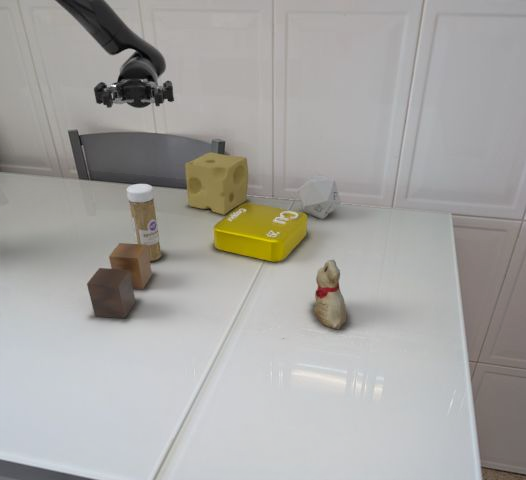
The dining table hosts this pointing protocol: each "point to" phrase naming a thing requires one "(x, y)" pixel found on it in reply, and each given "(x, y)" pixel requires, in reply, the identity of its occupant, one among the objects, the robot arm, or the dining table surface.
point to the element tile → (260, 231)
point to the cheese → (217, 182)
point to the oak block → (133, 262)
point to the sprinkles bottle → (144, 218)
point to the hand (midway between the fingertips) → (132, 100)
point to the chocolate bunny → (329, 296)
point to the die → (319, 196)
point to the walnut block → (111, 293)
